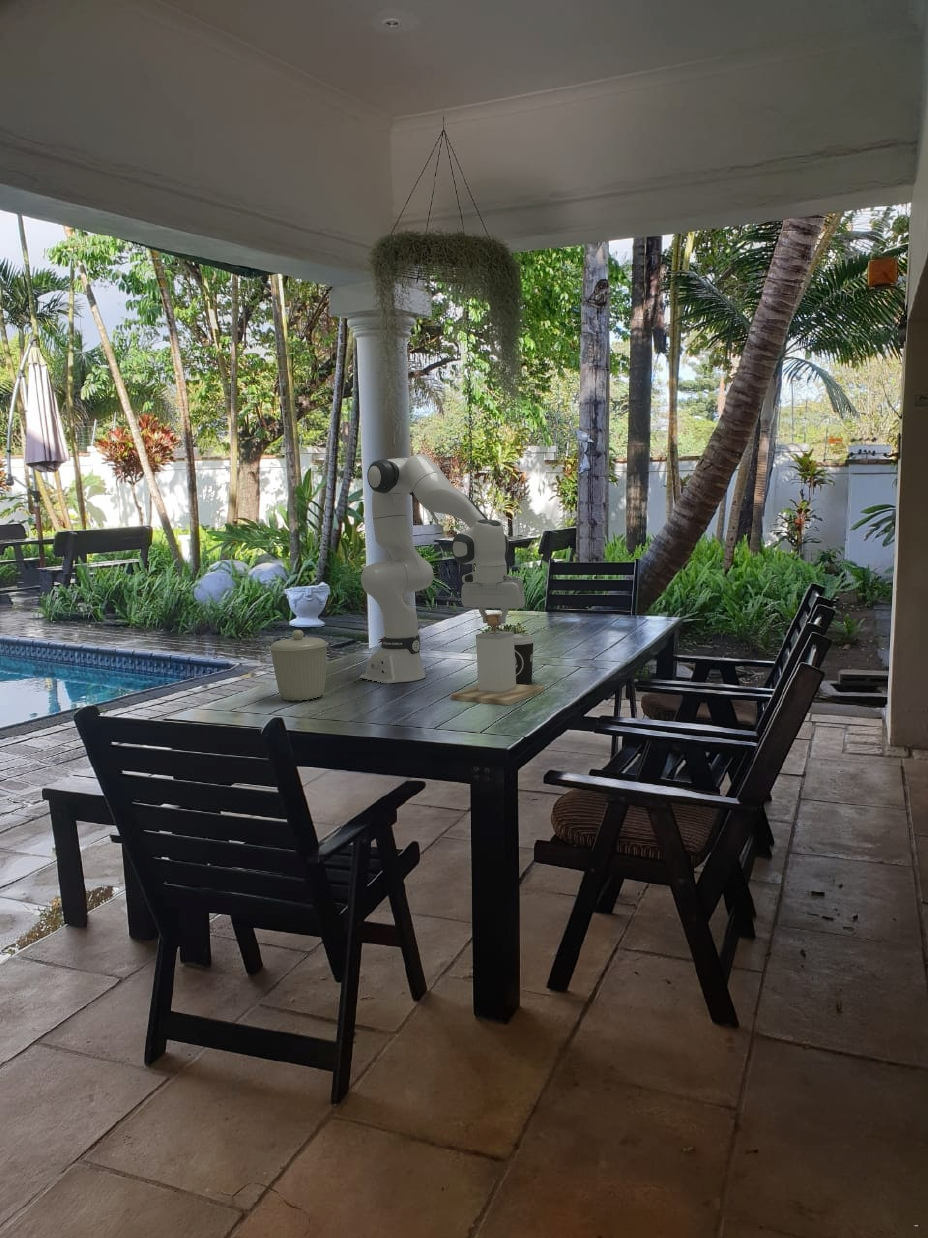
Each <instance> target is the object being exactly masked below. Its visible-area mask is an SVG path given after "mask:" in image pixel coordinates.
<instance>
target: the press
mask: <svg viewBox="0 0 928 1238" xmlns="http://www.w3.org/2000/svg"><path fill="white" fill-rule="evenodd" d="M514 634H515V632H514V631H503V630H501V631H500V630H496V634H493V630H490V631H486V632H481V633H479V634H475V646H476V649H475V650H476V667H477V682H478V683H477V685H478V689H479V692H482V693H493V694H504V693H507V692H509V691H512V690H515V689H516V671H515V650H514Z"/></svg>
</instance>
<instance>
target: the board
mask: <svg viewBox="0 0 928 1238" xmlns="http://www.w3.org/2000/svg"><path fill="white" fill-rule="evenodd" d="M544 692H545V686H544V685H543V686H542V685H531V684H528V685H521V684H516V689H515V690H512V691H509V692H507V693H504V694H493V693H482V692H479V689H478V684H477V685H475V686H471V687H469V688H466V689H464V690H460V691H457V692H454V693H450V695H449V698H450V701H457V702H458V701H460V702H470V703H477V704H478V703H479V704H491V705H499V706H511V705H514V704H515V703H518V702H520V701H524V700H526V699H528V698H531V697H533V696H536V695H539V694H542V693H544Z"/></svg>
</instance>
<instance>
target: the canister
mask: <svg viewBox="0 0 928 1238" xmlns="http://www.w3.org/2000/svg"><path fill="white" fill-rule="evenodd" d="M304 634H305V633H304V632H303V630H301V629H295V630H293V631H292V632H291V638H287V639H286V638H285V639H280V640H277V641H274V642H273V643H272V644H271V645H270V646H268V648H267V649H268V650H269V651H270V654H271V661H272V664H273V670H274V671H273V672H274V677H275V680H276V685H277V689H278V693H279V695H280V697H281V698H282V699H283V700H284V699H285V701H288V700H306V699H312V700H314V699H313V698H316V699H318V698H317V697H319V698H320V697H322V696H323V694H324V692H325V689H326V688H325V687H326V676H327V675H326V673H327V671H326V670H327V648H328V646H329V642H328V641H326V640H325V639H324V638H323V639H322V638H320V637H309V636H307V637H306V636H305V637H304ZM321 695H322V696H321Z"/></svg>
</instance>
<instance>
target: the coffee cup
mask: <svg viewBox="0 0 928 1238" xmlns="http://www.w3.org/2000/svg"><path fill="white" fill-rule="evenodd" d="M535 642H536V640H535V637H533V635H532V633H514V650H515V671H516V684H521V685H527V684H528V685H531V684H532V683H533V665H534V664H533V663H534V661H533V658H534V644H535Z"/></svg>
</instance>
